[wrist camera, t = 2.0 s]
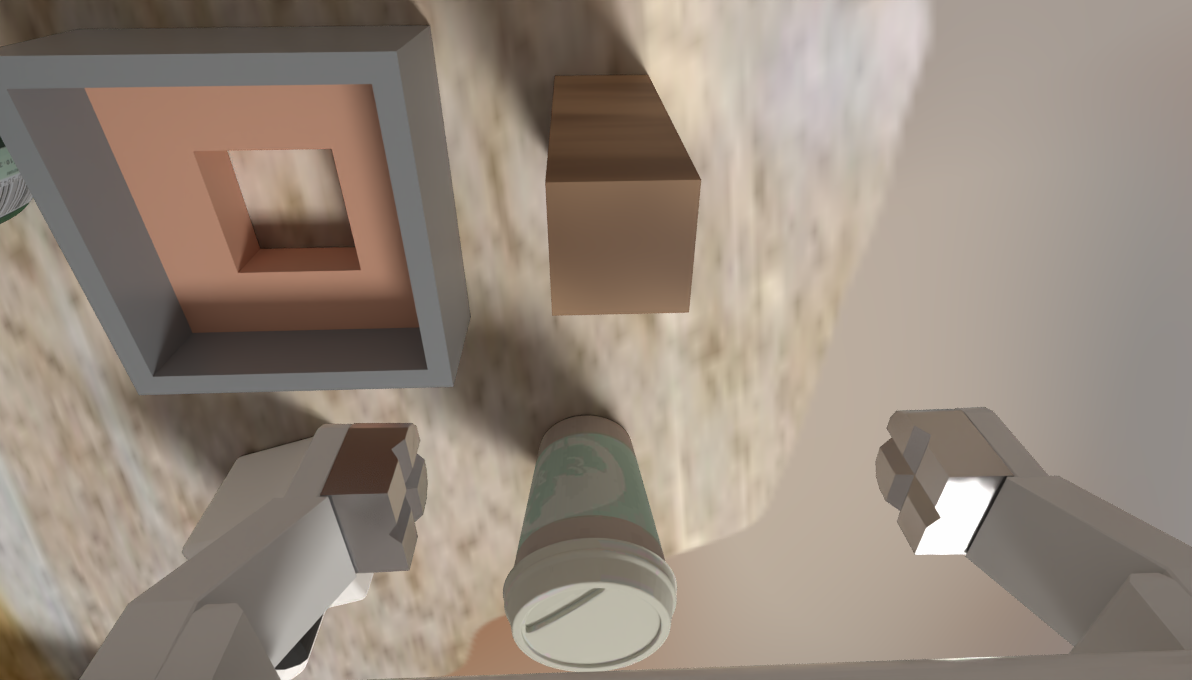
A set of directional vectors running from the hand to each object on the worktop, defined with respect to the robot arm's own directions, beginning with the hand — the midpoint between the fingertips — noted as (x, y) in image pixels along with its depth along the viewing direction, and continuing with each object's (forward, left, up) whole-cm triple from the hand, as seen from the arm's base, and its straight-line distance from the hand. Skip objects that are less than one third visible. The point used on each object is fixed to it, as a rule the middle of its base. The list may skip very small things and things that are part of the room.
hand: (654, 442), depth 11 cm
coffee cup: (-20, +1, -21) cm, 29 cm away
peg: (0, 0, -21) cm, 21 cm away
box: (-3, +14, -21) cm, 25 cm away
